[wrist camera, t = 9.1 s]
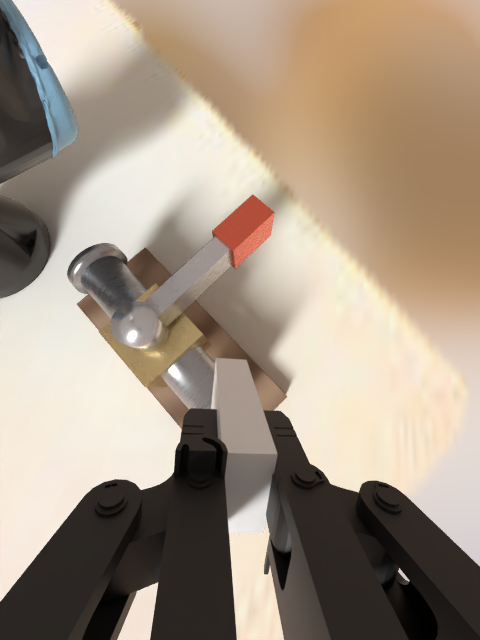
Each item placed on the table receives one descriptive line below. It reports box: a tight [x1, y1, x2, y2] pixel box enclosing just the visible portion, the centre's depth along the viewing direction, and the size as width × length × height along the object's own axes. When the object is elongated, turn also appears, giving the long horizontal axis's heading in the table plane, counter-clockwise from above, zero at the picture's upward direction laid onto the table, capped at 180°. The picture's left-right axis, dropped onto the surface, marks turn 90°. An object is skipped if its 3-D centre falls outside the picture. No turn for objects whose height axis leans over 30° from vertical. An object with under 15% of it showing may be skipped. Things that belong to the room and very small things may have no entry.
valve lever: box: [110, 195, 274, 352], centre depth 26 cm, size 17×4×4 cm, turn 135°
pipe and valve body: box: [67, 243, 215, 409], centre depth 32 cm, size 23×7×10 cm, turn 44°
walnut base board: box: [77, 248, 287, 429], centre depth 38 cm, size 28×12×2 cm, turn 44°
